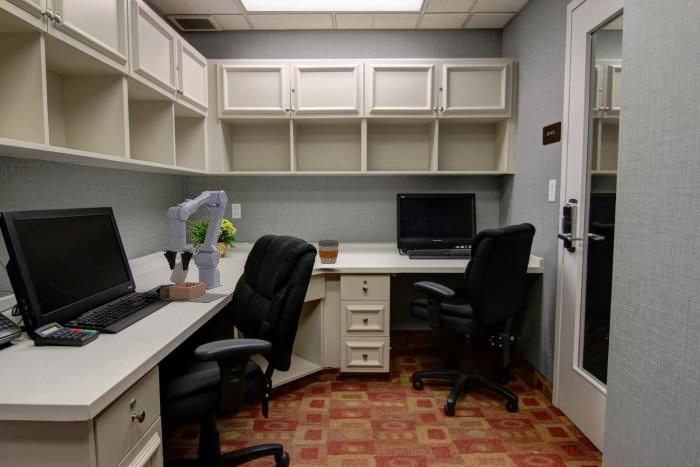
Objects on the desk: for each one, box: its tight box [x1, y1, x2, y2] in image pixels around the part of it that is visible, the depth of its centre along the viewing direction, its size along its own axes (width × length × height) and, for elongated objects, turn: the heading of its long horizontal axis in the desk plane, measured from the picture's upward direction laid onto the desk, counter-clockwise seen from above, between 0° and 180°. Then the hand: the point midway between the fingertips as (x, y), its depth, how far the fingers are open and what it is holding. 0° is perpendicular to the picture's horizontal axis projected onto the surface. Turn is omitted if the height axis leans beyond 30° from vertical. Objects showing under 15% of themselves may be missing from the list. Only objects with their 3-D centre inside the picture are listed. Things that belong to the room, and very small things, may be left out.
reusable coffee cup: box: [317, 239, 339, 264], centre depth 248 cm, size 12×12×15 cm
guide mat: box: [163, 292, 229, 304], centre depth 163 cm, size 14×24×1 cm, turn 76°
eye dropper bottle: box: [169, 258, 190, 284], centre depth 167 cm, size 4×6×12 cm
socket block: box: [169, 281, 207, 300], centre depth 163 cm, size 10×9×4 cm
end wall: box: [159, 283, 178, 300], centre depth 165 cm, size 13×2×4 cm, turn 166°
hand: (179, 269), depth 165 cm, fingers closed on eye dropper bottle, 5 cm apart
